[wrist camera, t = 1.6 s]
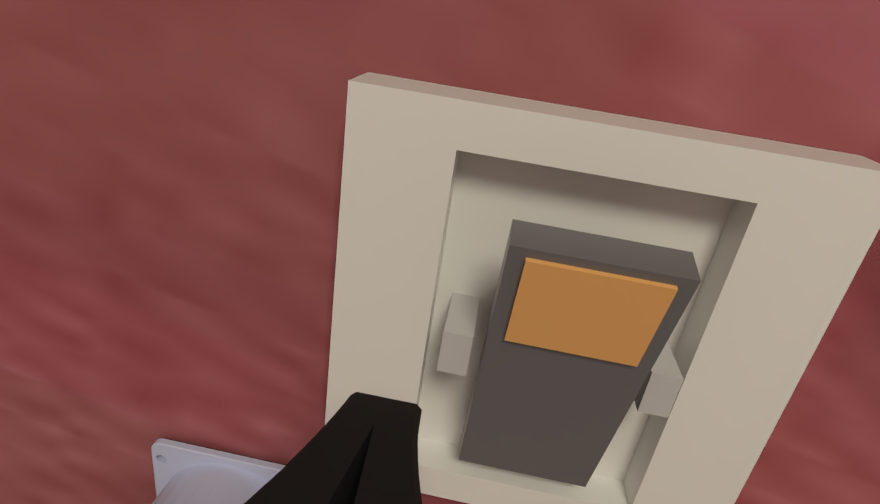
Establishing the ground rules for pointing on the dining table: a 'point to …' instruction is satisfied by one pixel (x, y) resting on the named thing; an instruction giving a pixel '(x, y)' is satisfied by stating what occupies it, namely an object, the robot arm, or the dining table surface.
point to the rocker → (570, 347)
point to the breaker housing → (597, 212)
